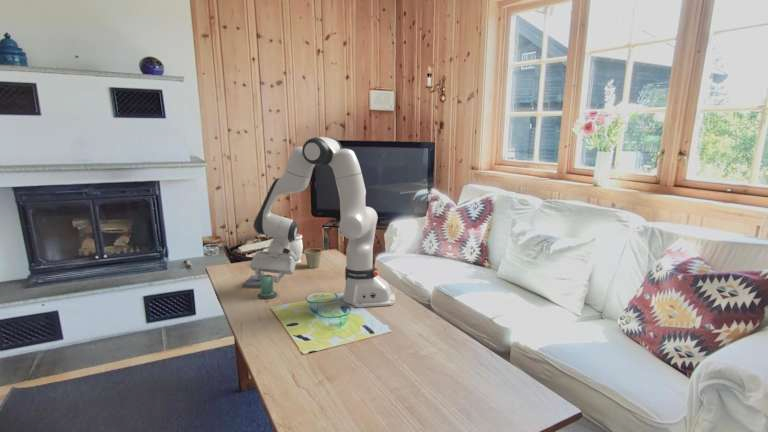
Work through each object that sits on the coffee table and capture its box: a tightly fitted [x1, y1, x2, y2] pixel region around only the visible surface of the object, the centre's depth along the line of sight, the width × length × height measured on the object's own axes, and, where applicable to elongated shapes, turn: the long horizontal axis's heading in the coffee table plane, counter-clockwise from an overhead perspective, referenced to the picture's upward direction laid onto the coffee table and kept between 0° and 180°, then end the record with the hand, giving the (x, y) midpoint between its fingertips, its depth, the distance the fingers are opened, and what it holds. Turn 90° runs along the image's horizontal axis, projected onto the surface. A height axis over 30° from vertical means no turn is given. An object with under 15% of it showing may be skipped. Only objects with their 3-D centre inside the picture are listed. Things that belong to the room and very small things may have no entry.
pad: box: [257, 291, 278, 300], centre depth 181 cm, size 8×8×1 cm
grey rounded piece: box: [254, 271, 265, 281], centre depth 195 cm, size 4×6×6 cm, turn 179°
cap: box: [259, 274, 275, 297], centre depth 180 cm, size 6×6×8 cm
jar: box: [290, 233, 304, 265], centre depth 225 cm, size 11×10×15 cm
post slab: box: [242, 274, 277, 289], centre depth 195 cm, size 12×12×2 cm
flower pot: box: [303, 247, 323, 269], centre depth 220 cm, size 9×9×9 cm
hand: (266, 280), depth 179 cm, fingers open, 8 cm apart
